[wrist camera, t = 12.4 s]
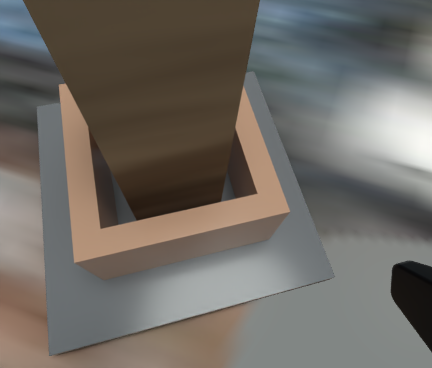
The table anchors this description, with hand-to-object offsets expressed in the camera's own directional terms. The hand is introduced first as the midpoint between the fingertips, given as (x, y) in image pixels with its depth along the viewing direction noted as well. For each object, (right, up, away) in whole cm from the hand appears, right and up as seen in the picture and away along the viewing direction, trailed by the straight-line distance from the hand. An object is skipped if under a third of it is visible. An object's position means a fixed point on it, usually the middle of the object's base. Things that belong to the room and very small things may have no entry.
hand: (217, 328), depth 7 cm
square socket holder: (-2, +3, +10) cm, 11 cm away
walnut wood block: (-2, +3, +10) cm, 11 cm away
